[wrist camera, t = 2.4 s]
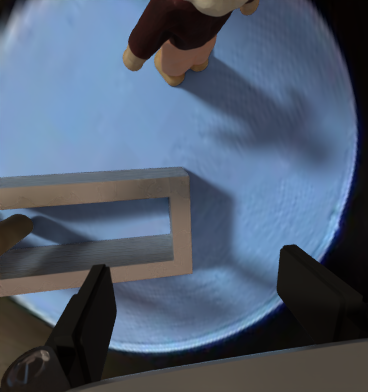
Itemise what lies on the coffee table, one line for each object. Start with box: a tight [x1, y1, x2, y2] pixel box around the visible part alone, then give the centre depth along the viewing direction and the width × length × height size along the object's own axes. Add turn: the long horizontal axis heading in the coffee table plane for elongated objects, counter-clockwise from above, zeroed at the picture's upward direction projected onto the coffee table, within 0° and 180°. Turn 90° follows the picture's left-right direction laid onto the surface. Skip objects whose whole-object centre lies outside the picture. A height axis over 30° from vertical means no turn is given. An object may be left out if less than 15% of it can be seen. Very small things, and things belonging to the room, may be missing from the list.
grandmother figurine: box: [123, 0, 259, 86], centre depth 10 cm, size 8×4×13 cm, turn 128°
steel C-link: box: [0, 166, 192, 297], centre depth 16 cm, size 16×8×4 cm, turn 93°
